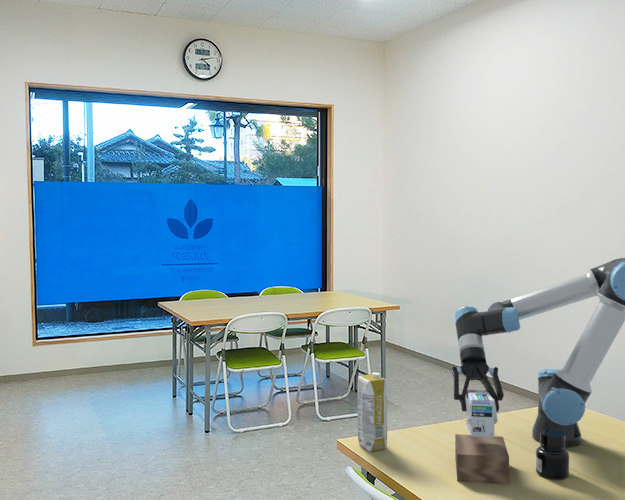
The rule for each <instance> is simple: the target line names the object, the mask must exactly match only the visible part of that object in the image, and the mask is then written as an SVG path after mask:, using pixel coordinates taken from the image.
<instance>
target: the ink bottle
mask: <svg viewBox="0 0 625 500" xmlns="http://www.w3.org/2000/svg"><path fill="white" fill-rule="evenodd" d="M539 444H540V446H538V447H537V448H536V449H535V471H536V474H538V475H539V476H541V477H544V478H547V479H552V480H564V479H567V478H568V477H569V474H570V453H569V451H568V450H567V449H566V447H565V433H564V432H562V431H560V430H556V429H543V430H541V431H540V442H539Z"/></svg>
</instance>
